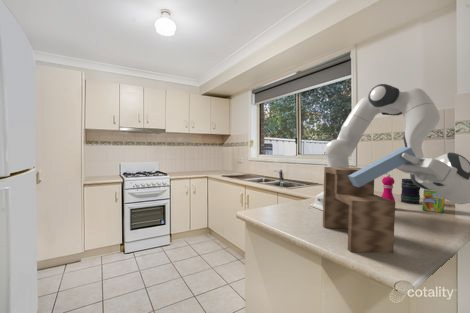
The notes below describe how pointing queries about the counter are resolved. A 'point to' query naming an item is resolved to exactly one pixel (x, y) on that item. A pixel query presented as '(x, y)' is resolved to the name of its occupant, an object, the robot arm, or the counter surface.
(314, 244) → the counter surface
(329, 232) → the counter surface
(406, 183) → the storage jar
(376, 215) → the step shelf
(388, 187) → the pepper mill
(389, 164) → the beam
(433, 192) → the chalk box
